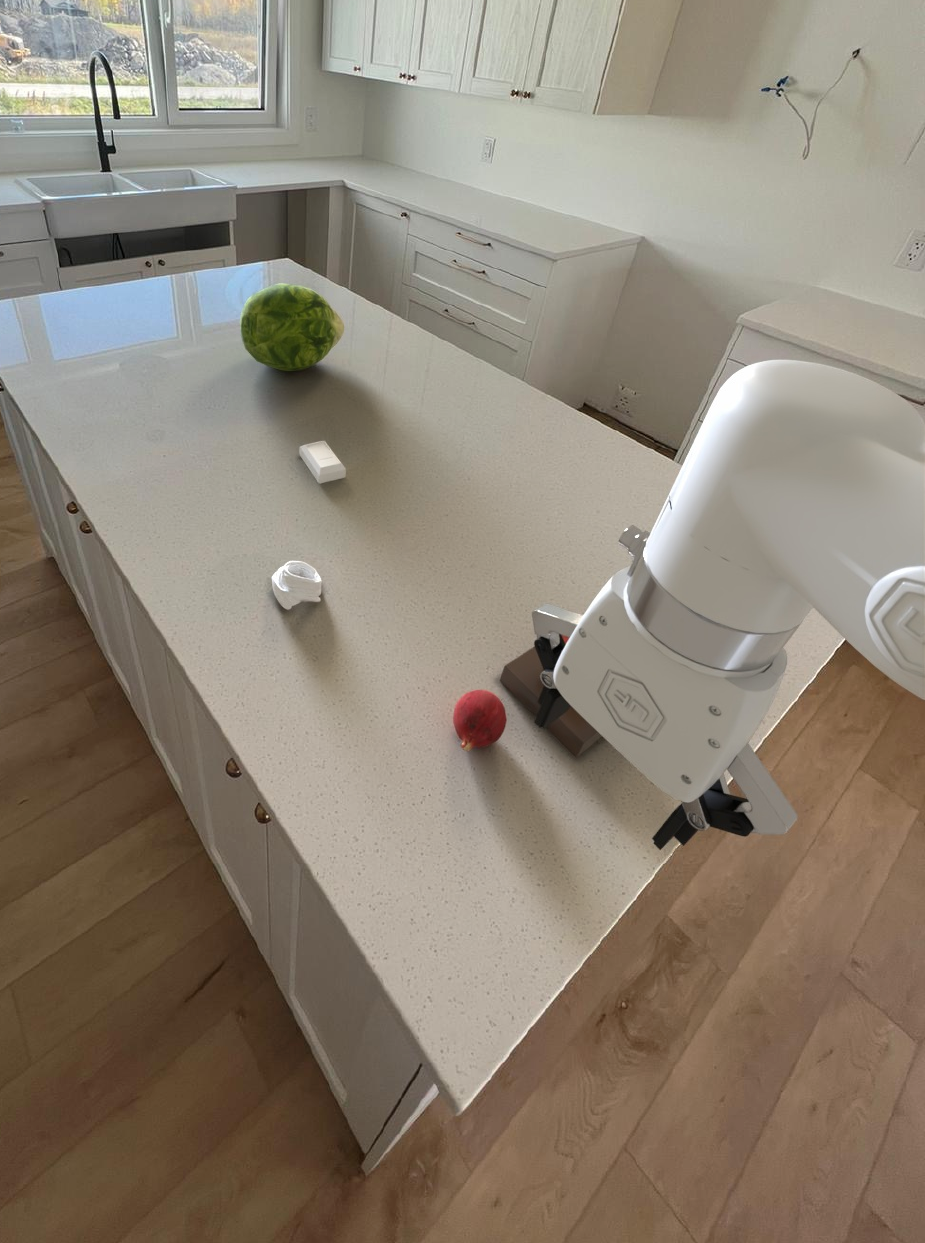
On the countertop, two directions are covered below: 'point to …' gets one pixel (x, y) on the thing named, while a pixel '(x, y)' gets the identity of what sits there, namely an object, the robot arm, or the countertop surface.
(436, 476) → the countertop surface
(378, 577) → the countertop surface
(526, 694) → the tap deck
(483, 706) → the onion
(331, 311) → the lettuce
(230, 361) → the countertop surface
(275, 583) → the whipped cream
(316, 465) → the soap bar
